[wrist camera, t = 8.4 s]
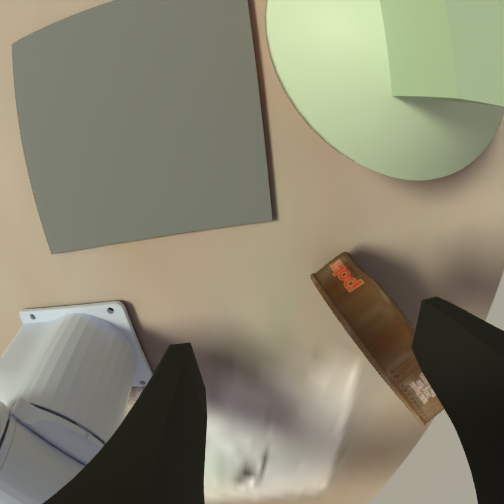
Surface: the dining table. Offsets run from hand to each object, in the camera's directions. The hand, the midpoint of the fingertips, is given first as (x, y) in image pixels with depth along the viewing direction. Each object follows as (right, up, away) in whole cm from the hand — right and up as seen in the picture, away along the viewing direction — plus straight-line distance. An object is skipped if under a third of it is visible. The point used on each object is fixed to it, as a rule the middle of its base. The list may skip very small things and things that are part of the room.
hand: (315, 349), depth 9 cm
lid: (+5, +12, +1) cm, 13 cm away
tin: (+7, -1, +13) cm, 15 cm away
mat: (-8, +10, +6) cm, 14 cm away
